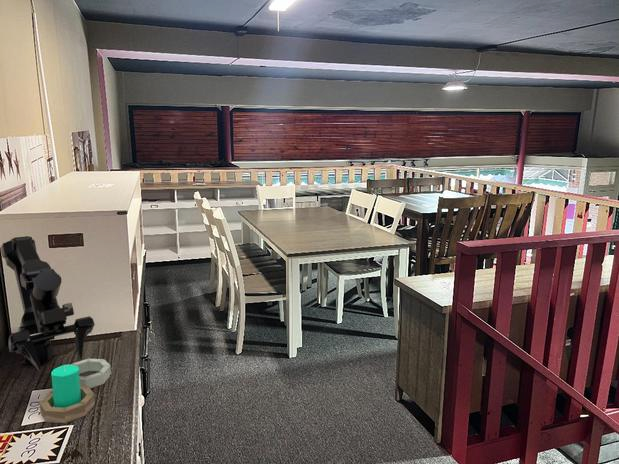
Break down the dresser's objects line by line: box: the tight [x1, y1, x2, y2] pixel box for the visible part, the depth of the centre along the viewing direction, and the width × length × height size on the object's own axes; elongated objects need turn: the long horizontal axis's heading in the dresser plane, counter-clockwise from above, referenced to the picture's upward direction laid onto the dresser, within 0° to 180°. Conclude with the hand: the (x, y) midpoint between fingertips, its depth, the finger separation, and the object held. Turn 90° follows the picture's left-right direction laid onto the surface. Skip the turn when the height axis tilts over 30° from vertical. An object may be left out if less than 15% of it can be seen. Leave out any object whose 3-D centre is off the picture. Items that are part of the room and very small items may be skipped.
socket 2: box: [70, 358, 112, 389], centre depth 124 cm, size 11×11×3 cm
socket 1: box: [39, 386, 95, 424], centre depth 110 cm, size 11×11×3 cm
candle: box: [51, 363, 82, 408], centre depth 109 cm, size 6×6×12 cm
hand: (61, 364), depth 111 cm, fingers open, 9 cm apart
